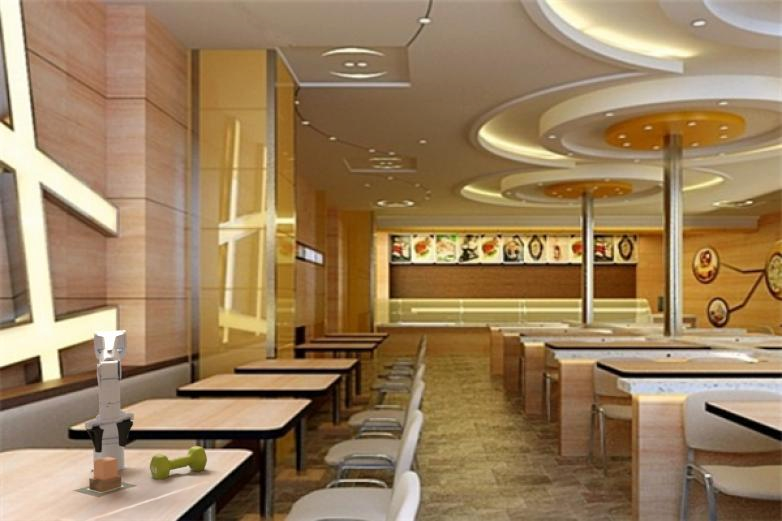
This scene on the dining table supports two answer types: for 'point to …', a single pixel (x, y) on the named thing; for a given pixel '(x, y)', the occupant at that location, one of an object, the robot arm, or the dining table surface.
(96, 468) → the top block
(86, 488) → the grey square base plate
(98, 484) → the base block
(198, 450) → the dumbbell
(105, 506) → the dining table surface
